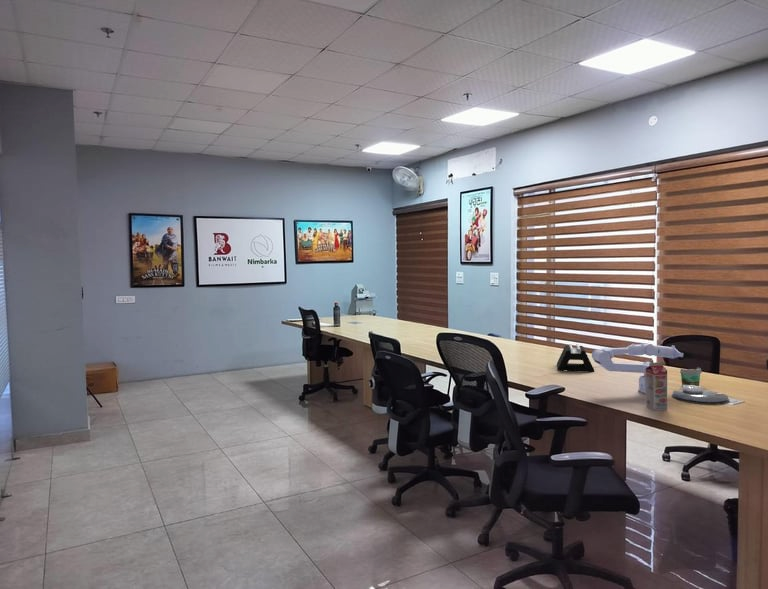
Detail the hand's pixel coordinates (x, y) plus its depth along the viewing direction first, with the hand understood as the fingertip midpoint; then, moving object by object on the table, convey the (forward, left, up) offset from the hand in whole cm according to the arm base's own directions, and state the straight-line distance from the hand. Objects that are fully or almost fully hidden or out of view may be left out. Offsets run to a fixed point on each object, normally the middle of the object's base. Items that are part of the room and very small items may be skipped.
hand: (688, 354), depth 282 cm
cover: (-4, -10, -18) cm, 20 cm away
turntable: (-4, -16, -19) cm, 25 cm away
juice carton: (-35, -31, -20) cm, 51 cm away
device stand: (-33, +71, -20) cm, 81 cm away
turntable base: (-4, -16, -19) cm, 25 cm away
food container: (+8, +8, -20) cm, 23 cm away
